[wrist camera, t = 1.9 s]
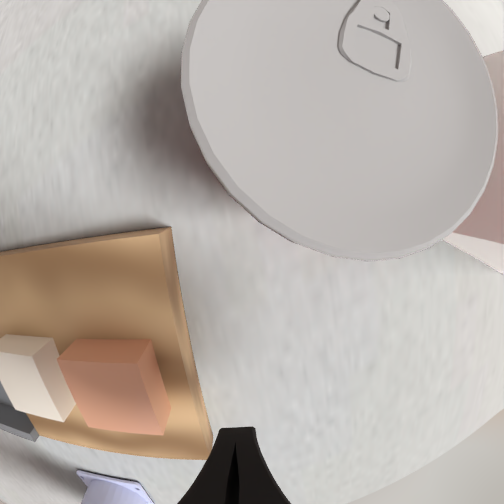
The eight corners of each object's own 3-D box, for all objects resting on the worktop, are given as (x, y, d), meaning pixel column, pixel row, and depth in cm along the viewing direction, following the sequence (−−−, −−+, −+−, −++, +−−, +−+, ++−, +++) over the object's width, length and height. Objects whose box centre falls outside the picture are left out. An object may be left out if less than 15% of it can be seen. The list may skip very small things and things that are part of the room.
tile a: (171, 407, 16) (163, 435, 13) (102, 403, 16) (88, 427, 13) (150, 338, 15) (137, 363, 12) (76, 338, 15) (56, 359, 12)
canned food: (351, 80, 15) (464, -14, 4) (358, 213, 16) (502, 257, 5) (219, 77, 14) (187, -61, 4) (223, 216, 16) (182, 275, 5)
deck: (213, 436, 19) (210, 459, 17) (50, 419, 19) (39, 435, 17) (171, 226, 16) (158, 233, 14) (-11, 253, 16) (-32, 261, 14)
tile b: (78, 400, 16) (63, 422, 13) (30, 391, 16) (15, 409, 13) (52, 337, 15) (32, 356, 12) (6, 334, 15) (-14, 349, 12)
